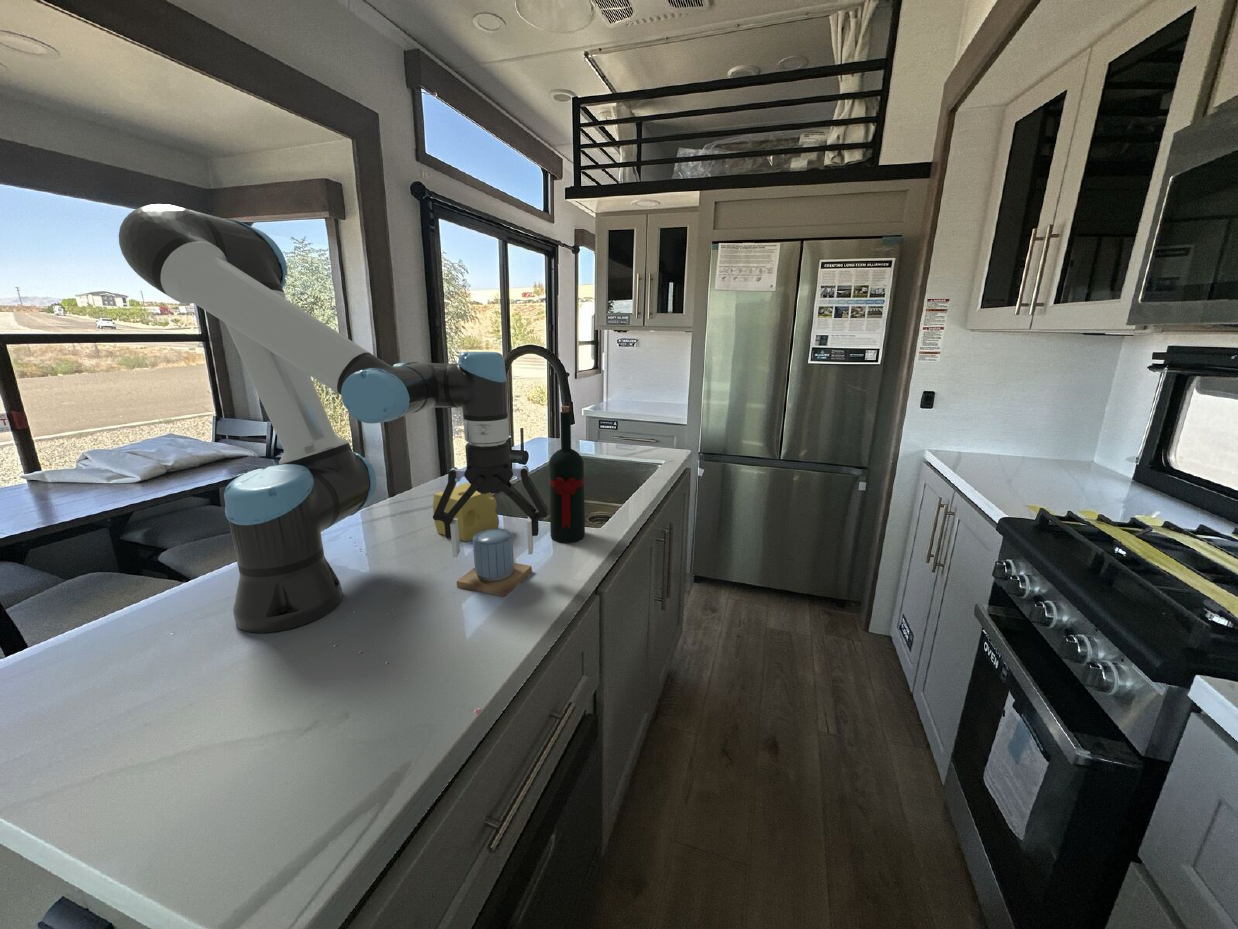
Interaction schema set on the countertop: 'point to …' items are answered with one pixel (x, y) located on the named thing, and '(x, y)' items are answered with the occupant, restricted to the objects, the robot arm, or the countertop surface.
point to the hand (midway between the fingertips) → (494, 552)
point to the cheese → (469, 512)
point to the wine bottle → (566, 488)
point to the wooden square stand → (495, 581)
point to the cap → (493, 553)
